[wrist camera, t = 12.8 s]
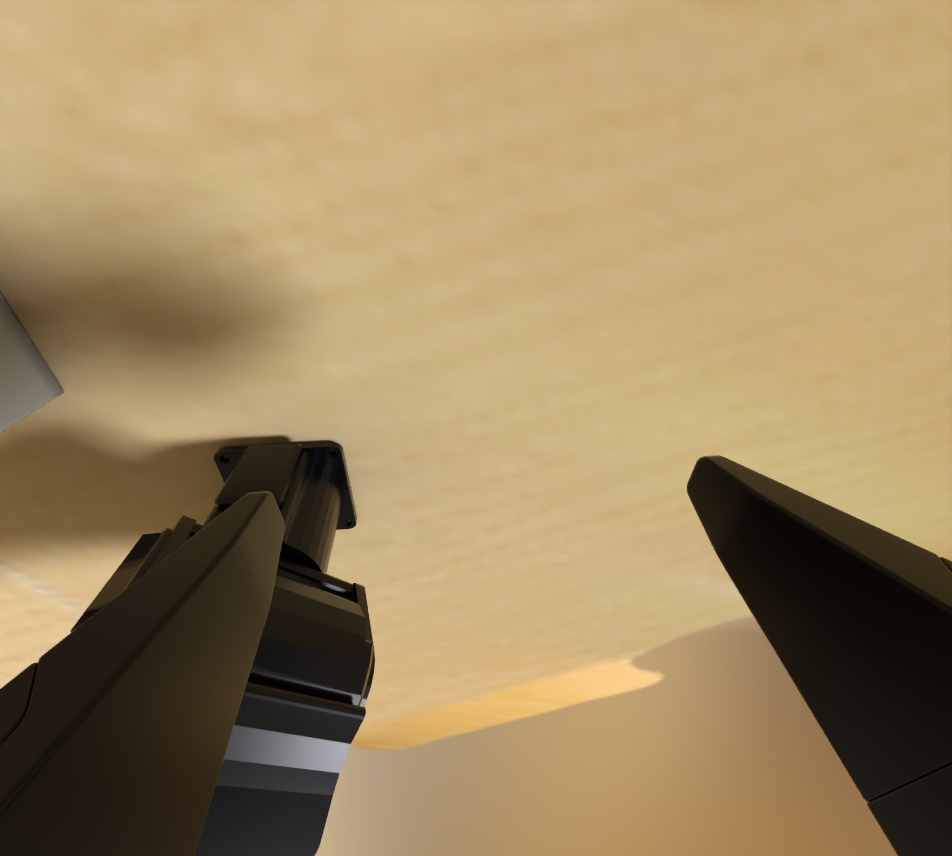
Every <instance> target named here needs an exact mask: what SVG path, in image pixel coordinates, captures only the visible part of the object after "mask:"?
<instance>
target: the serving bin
mask: <svg viewBox="0 0 952 856" xmlns="http://www.w3.org/2000/svg"><path fill="white" fill-rule="evenodd" d="M62 393H64V390H63V389H62V387H61V385H60V384H59V382H58V381H57V379H56V378H55V376H54V375H53V373H52V371H51V370H50V368H49V367H48V365H47V364H46V362H45V361H44V359H43V358H42V356H41V354H40V353H39V351H38V350H37V348H36V347H35V345H34V344H33V342H32V340H31V339H30V337H29V336H28V334H27V333H26V331H25V330H24V328H23V326H22V325H21V323H20V322H19V320H18V319H17V317H16V316H15V314H14V313H13V311H12V309H11V308H10V306H9V305H8V303H7V302H6V300H5V299H4V297H3V295H2V294H1V292H0V433H1V432H2V431H4V430H5V429H7V428H8V427H10V426H12V425H13V424H15V423H16V422H18V421H19V420H21V419H23V418H24V417H26V416H27V415H29V414H31V413H32V412H34V411H35V410H37V409H38V408H40V407H42V406H43V405H45V404H46V403H48V402H49V401H51V400H53V399H54V398H56V397H57V396H59V395H60V394H62Z"/></svg>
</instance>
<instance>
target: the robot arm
mask: <svg viewBox="0 0 952 856" xmlns="http://www.w3.org/2000/svg"><path fill="white" fill-rule="evenodd" d="M330 450H334V451H336V452H337V453H331V452H330ZM224 456H227V457H229V458H225V457H224ZM214 460H215V462H216V464H217V467H218V469H219V471H220V473H221V476H222V478H223V480H224V482H225V484H224V486H223V487H222V489H221V490H220V492H219V494H218V495H217V497H216V499H215V501H214V502H215V504H216V505H215V506H214V508H213V510H212V511H211V513H210V515H209V516H208V518H207V520H206V521H205V523H204V525H203V526H202V525H200V524H197V523H196V520H194V519H191V518H189V517H186V516H182V517H181V518H180V519H179V521H178V522H177V523H176V525H175V526H174V527H173V528H172V530H171V529H168V528H166V530H165V531H163V532H162V533H153V534H143V535H142V537H141V538H140V539H139V541H138V542H137V543H136V545H135V546H134V547H133V549H132V550H131V551H130V553H129V554H128V555H127V557H126V558H125V559H124V561H123V562H122V563H121V565H120V566H119V567H118V569H117V570H116V571H115V573H114V574H113V575H112V577H111V578H110V579H109V581H108V582H107V583H106V585H105V586H104V587H103V588H102V590H101V591H100V592H99V594H98V595H97V596H96V598H95V599H94V600H93V602H92V603H91V604H90V606H89V607H88V608H87V610H86V611H85V612H84V614H83V615H82V616H81V618H80V619H79V620H78V622H77V623H76V624H75V626H74V627H73V628H72V630H71V633H70V634H69V635H68V636H67V637H65V638H64V639H63V640H62V641H60V642H59V643H58V644H57V645H55V646H54V647H53V648H52V649H50V650H49V651H48V652H46V653H45V654H44V655H43V656H41V657H40V659H39V661H38V663H33V664H31V665H30V666H29V667H27V668H26V669H25V670H24V671H22V672H21V673H20V674H19V675H17V676H16V677H15V678H14V679H12V680H11V681H10V682H9V683H7V684H6V685H5V686H4V687H2V688H1V689H0V856H314V855H315V854H316V852H317V850H318V848H319V845H320V842H321V838H322V834H323V830H324V827H325V823H326V819H327V816H328V812H329V808H330V804H331V800H332V796H333V793H334V790H335V786H336V783H337V779H338V776H339V773H340V770H341V768H342V765H343V762H344V760H345V757H346V755H347V752H348V750H349V747H350V744H351V742H352V741H353V739H354V737H355V735H356V733H357V731H358V729H359V727H360V725H361V723H362V721H363V719H364V717H365V714H366V709H365V707H364V705H365V702H366V700H367V697H368V694H369V691H370V688H371V684H372V679H373V674H374V664H375V655H374V646H373V640H372V633H371V626H370V620H369V613H368V607H367V600H366V593H365V587H364V586H361V585H359V584H356V583H353V584H351V583H348V582H346V581H343V580H341V579H338V578H335V577H333V576H330V575H328V574H326V572H327V568H328V564H329V559H330V555H331V550H332V546H333V541H334V537H335V532H336V530H339V529H350V528H353V527H355V525H356V521H357V516H356V511H355V506H354V501H353V496H352V491H351V486H350V481H349V476H348V471H347V467H346V462H345V457H344V452H343V448H342V446H341V445H340V444H338V443H334V442H328V443H306V444H297V443H291V444H270V445H250V446H242V447H224V448H220V449H219V450H218V451H217V453H216V454H215V456H214ZM687 492H688V496H689V498H690V500H691V502H692V504H693V506H694V508H695V510H696V512H697V515H698V517H699V519H700V521H701V523H702V525H703V527H704V529H705V531H706V533H707V535H708V538H709V540H710V542H711V544H712V546H713V548H714V550H715V552H716V554H717V556H718V558H719V559H720V561H721V563H722V565H723V566H724V568H725V570H726V571H727V573H728V575H729V576H730V578H731V580H732V581H733V583H734V584H735V586H736V588H737V589H738V591H739V593H740V594H741V596H742V598H743V599H744V601H745V603H746V604H747V606H748V608H749V609H750V611H751V613H752V614H753V616H754V618H755V619H756V621H757V623H758V624H759V626H760V628H761V629H762V631H763V633H764V634H765V636H766V637H767V639H768V641H769V642H770V644H771V646H772V647H773V649H774V651H775V652H776V654H777V656H778V657H779V659H780V660H781V662H782V664H783V665H784V667H785V669H786V671H787V672H788V674H789V676H790V677H791V679H792V680H793V682H794V684H795V685H796V687H797V689H798V690H799V692H800V694H801V695H802V697H803V698H804V700H805V702H806V703H807V705H808V707H809V709H810V710H811V712H812V713H813V715H814V717H815V718H816V720H817V722H818V724H819V725H820V727H821V729H822V730H823V732H824V734H825V735H826V737H827V738H828V740H829V742H830V743H831V745H832V747H833V748H834V750H835V752H836V753H837V755H838V757H839V758H840V760H841V762H842V763H843V765H844V767H845V768H846V770H847V771H848V773H849V775H850V776H851V778H852V780H853V782H854V783H855V785H856V787H857V788H858V790H859V791H860V793H861V795H862V796H863V798H864V799H865V800H866V801H867V805H868V807H869V809H870V810H871V812H872V814H873V815H874V817H875V819H876V820H877V822H878V824H879V825H880V827H881V829H882V830H883V832H884V834H885V835H886V837H887V839H888V840H889V842H890V843H891V845H892V847H893V848H894V850H895V852H896V853H897V855H898V856H952V561H950V560H948V559H945V558H943V557H938V556H937V555H936V554H934V553H932V552H930V551H928V550H926V549H923V548H921V547H919V546H917V545H915V544H912V543H910V542H908V541H906V540H904V539H902V538H899V537H897V536H895V535H893V534H891V533H888V532H886V531H884V530H882V529H880V528H878V527H875V526H873V525H871V524H869V523H867V522H864V521H862V520H860V519H858V518H856V517H854V516H851V515H849V514H847V513H845V512H843V511H840V510H838V509H836V508H834V507H832V506H830V505H827V504H825V503H823V502H821V501H819V500H816V499H814V498H812V497H810V496H808V495H806V494H803V493H801V492H799V491H797V490H795V489H792V488H790V487H788V486H786V485H784V484H782V483H779V482H777V481H775V480H773V479H771V478H768V477H766V476H764V475H762V474H760V473H758V472H755V471H753V470H751V469H749V468H747V467H744V466H742V465H740V464H738V463H736V462H734V461H731V460H729V459H727V458H725V457H722V456H704V457H701V458H700V459H698V460H697V462H696V465H695V467H694V469H693V472H692V474H691V476H690V479H689V481H688V484H687ZM347 520H348V521H347Z"/></svg>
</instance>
